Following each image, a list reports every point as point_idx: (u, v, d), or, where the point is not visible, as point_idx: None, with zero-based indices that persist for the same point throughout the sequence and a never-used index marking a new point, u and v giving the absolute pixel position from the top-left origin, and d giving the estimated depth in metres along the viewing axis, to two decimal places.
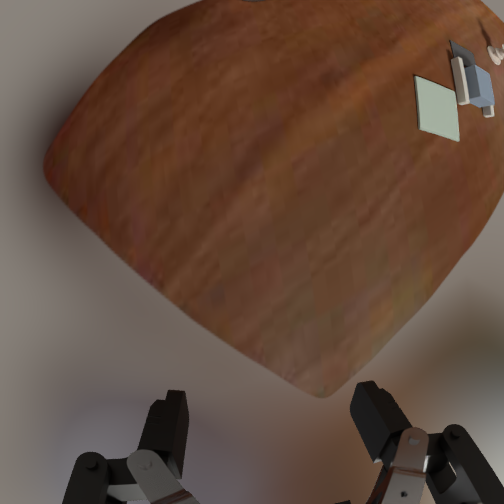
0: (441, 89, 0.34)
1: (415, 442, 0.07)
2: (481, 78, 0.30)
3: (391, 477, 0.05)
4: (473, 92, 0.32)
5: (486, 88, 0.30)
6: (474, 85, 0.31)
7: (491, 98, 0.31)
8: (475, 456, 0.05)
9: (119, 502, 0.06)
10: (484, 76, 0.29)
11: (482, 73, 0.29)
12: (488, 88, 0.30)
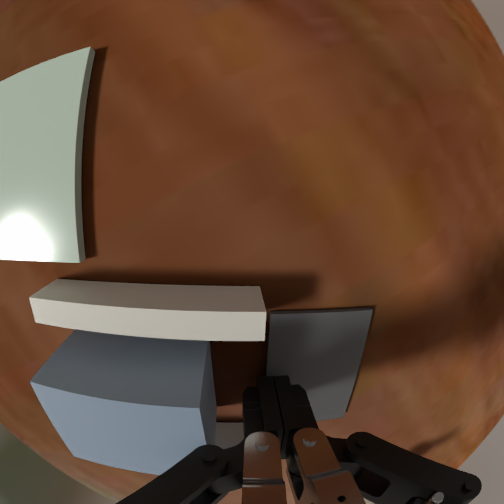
0: (59, 174, 0.10)
1: (308, 444, 0.08)
2: (131, 426, 0.08)
3: (315, 489, 0.05)
4: (69, 360, 0.09)
5: (103, 439, 0.08)
6: (91, 372, 0.09)
7: (82, 449, 0.08)
8: (400, 456, 0.06)
9: (214, 496, 0.07)
10: (169, 451, 0.08)
11: (176, 446, 0.08)
12: (120, 455, 0.08)
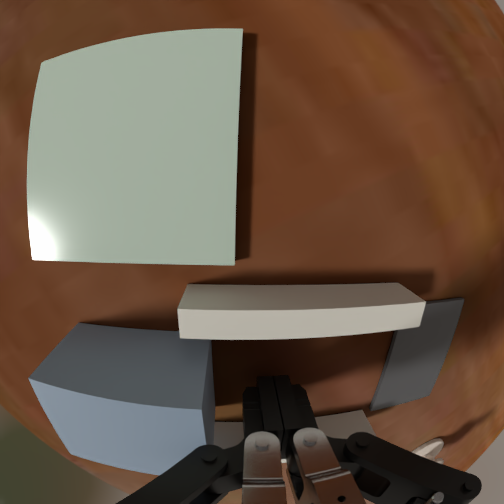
0: (213, 163, 0.10)
1: (308, 443, 0.08)
2: (131, 426, 0.08)
3: (315, 489, 0.05)
4: (68, 358, 0.09)
5: (101, 438, 0.08)
6: (92, 371, 0.09)
7: (79, 447, 0.08)
8: (400, 456, 0.06)
9: (214, 496, 0.07)
10: (168, 452, 0.08)
11: (175, 447, 0.08)
12: (118, 454, 0.08)
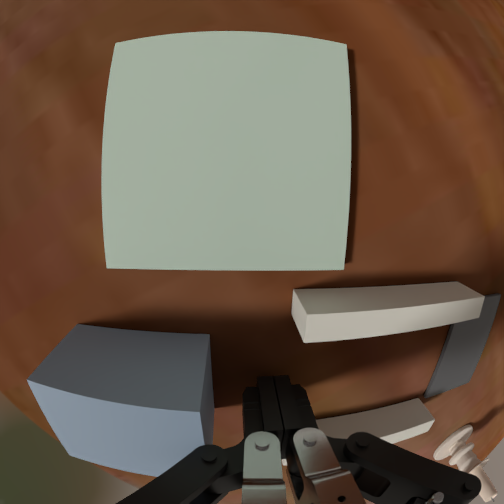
0: (330, 172, 0.10)
1: (308, 443, 0.08)
2: (129, 428, 0.08)
3: (315, 489, 0.05)
4: (67, 359, 0.09)
5: (100, 439, 0.08)
6: (90, 373, 0.09)
7: (78, 448, 0.08)
8: (400, 456, 0.06)
9: (214, 496, 0.07)
10: (167, 454, 0.08)
11: (174, 449, 0.08)
12: (116, 456, 0.08)
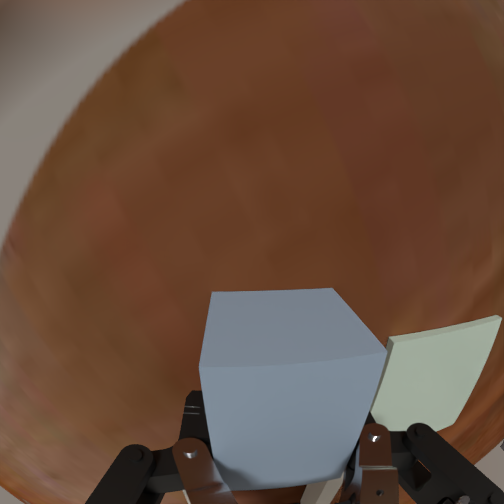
0: None
1: (374, 438, 0.08)
2: (320, 452, 0.08)
3: (361, 478, 0.06)
4: None
5: (288, 429, 0.07)
6: None
7: (240, 394, 0.07)
8: (447, 452, 0.06)
9: (155, 495, 0.07)
10: (277, 472, 0.08)
11: (288, 475, 0.08)
12: (253, 440, 0.07)
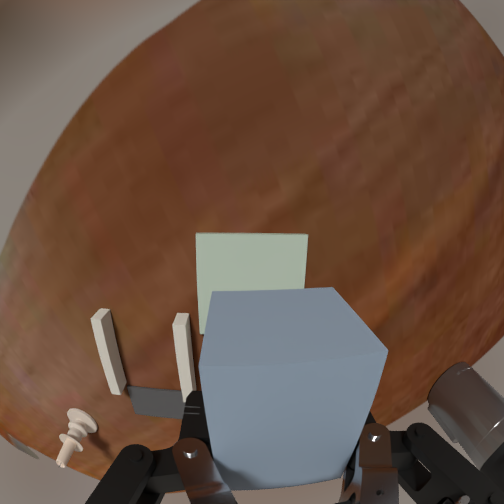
0: None
1: (374, 438, 0.08)
2: (320, 452, 0.08)
3: (361, 478, 0.06)
4: None
5: (289, 429, 0.07)
6: None
7: (240, 393, 0.07)
8: (447, 452, 0.06)
9: (155, 495, 0.07)
10: (277, 472, 0.08)
11: (288, 475, 0.08)
12: (253, 439, 0.07)
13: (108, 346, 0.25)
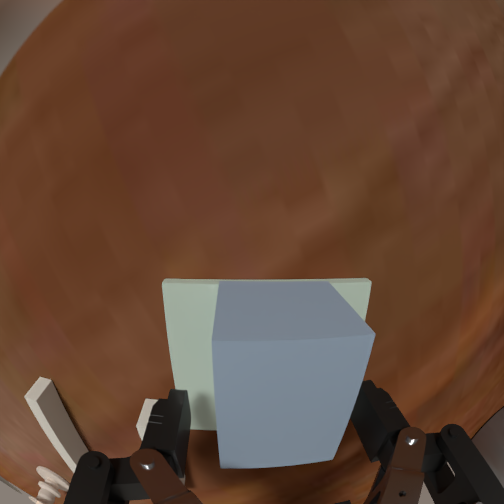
0: None
1: (412, 441, 0.07)
2: (314, 430, 0.09)
3: (389, 477, 0.05)
4: None
5: (287, 404, 0.08)
6: None
7: (246, 367, 0.08)
8: (474, 456, 0.05)
9: (121, 501, 0.06)
10: (274, 449, 0.09)
11: (284, 453, 0.09)
12: (255, 413, 0.08)
13: (56, 430, 0.13)
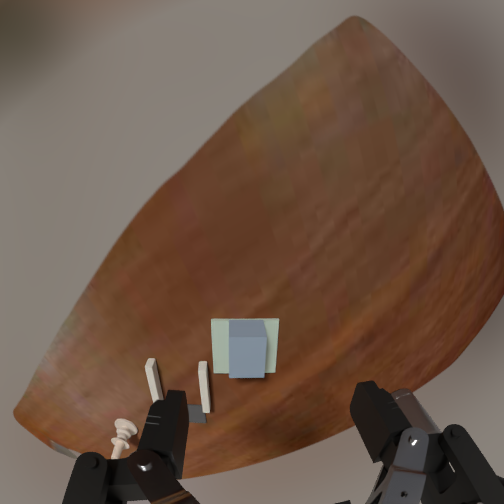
0: None
1: (415, 442, 0.07)
2: (255, 363, 0.37)
3: (391, 477, 0.05)
4: None
5: (246, 353, 0.36)
6: None
7: (236, 343, 0.36)
8: (475, 457, 0.05)
9: (119, 502, 0.06)
10: (244, 369, 0.37)
11: (248, 371, 0.37)
12: (238, 356, 0.36)
13: (155, 381, 0.41)
